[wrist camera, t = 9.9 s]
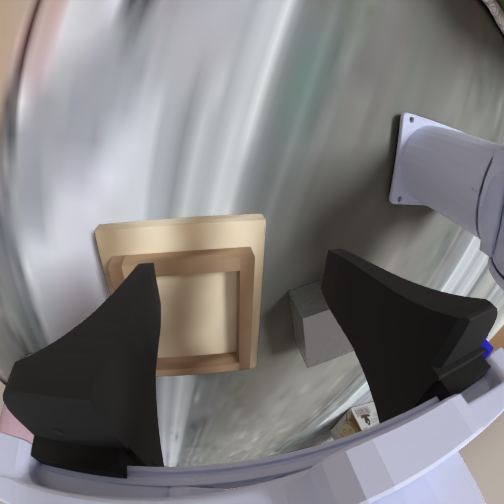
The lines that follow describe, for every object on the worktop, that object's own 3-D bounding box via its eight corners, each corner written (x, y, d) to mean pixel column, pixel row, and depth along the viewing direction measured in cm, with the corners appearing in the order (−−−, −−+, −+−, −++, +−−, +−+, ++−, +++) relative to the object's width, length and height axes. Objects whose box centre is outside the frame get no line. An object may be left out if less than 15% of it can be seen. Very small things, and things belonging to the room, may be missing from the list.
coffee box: (354, 423, 46) (384, 484, 33) (328, 430, 45) (357, 496, 31) (376, 399, 42) (413, 466, 29) (349, 407, 41) (385, 481, 27)
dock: (261, 213, 20) (271, 228, 18) (253, 359, 28) (259, 379, 26) (99, 224, 18) (88, 241, 16) (140, 368, 26) (139, 388, 23)
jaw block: (338, 272, 25) (359, 298, 22) (338, 324, 29) (354, 350, 25) (287, 288, 25) (302, 318, 21) (294, 339, 28) (307, 368, 25)
